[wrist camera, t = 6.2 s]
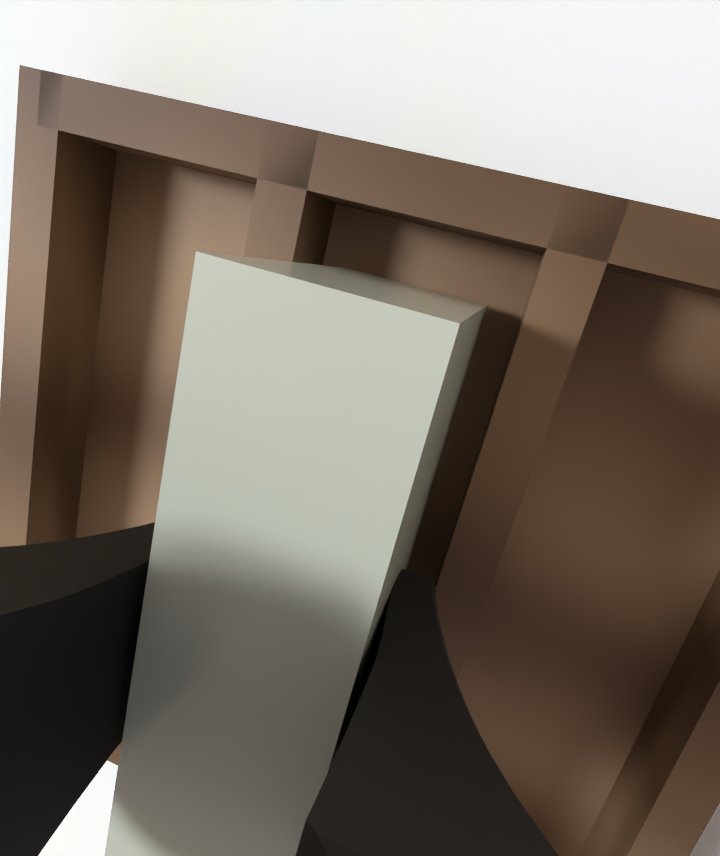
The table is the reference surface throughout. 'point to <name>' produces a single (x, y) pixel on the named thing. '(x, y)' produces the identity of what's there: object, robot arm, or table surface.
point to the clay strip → (278, 542)
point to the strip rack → (470, 429)
